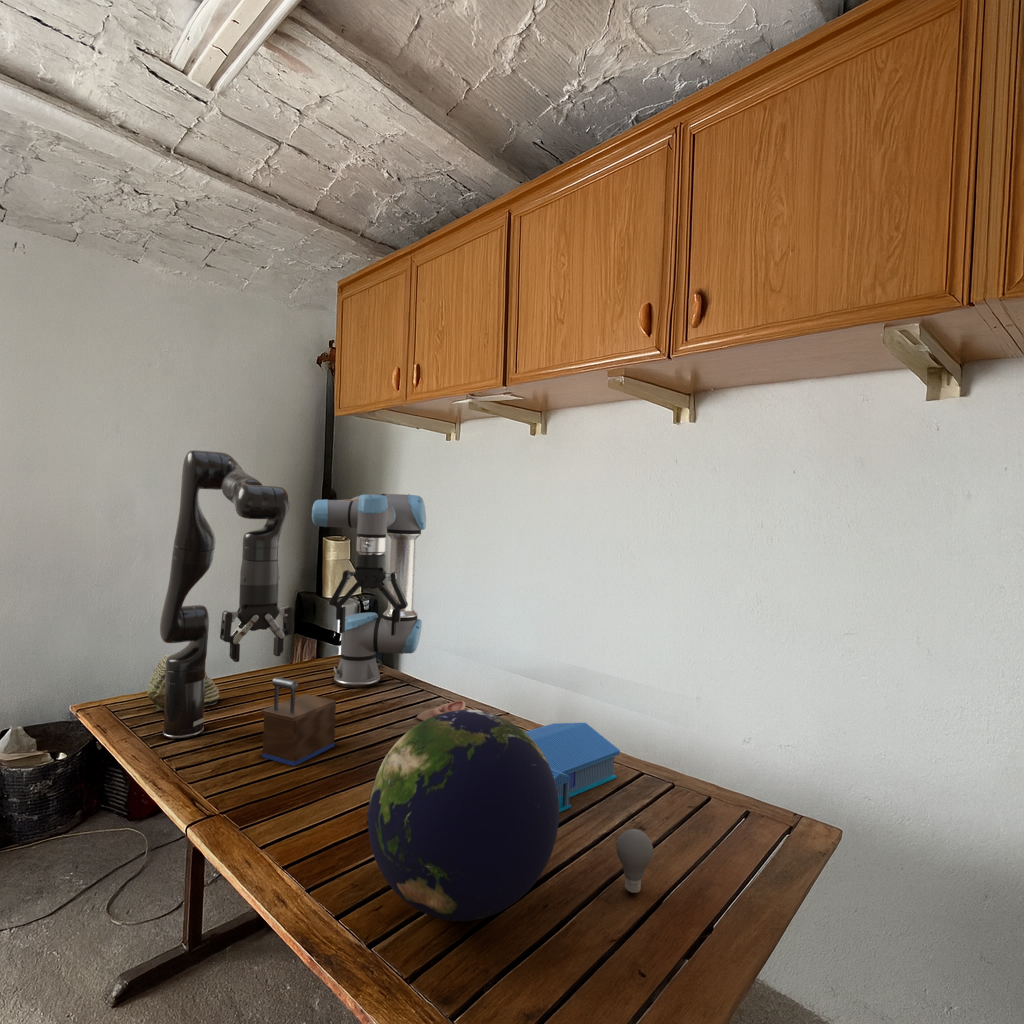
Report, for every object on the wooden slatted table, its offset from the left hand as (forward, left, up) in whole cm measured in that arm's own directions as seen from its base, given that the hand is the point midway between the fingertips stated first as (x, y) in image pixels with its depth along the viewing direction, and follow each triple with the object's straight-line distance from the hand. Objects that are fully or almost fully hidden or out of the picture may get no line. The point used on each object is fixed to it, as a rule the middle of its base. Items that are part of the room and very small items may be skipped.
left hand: (256, 658), depth 132 cm
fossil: (-66, +6, -29) cm, 73 cm away
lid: (-16, +17, -18) cm, 30 cm away
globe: (+56, +12, -29) cm, 64 cm away
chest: (-16, +18, -29) cm, 37 cm away
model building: (+34, +50, -29) cm, 67 cm away
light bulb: (+71, +36, -29) cm, 85 cm away
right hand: (-15, +35, -2) cm, 38 cm away
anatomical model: (-14, +61, -29) cm, 69 cm away
